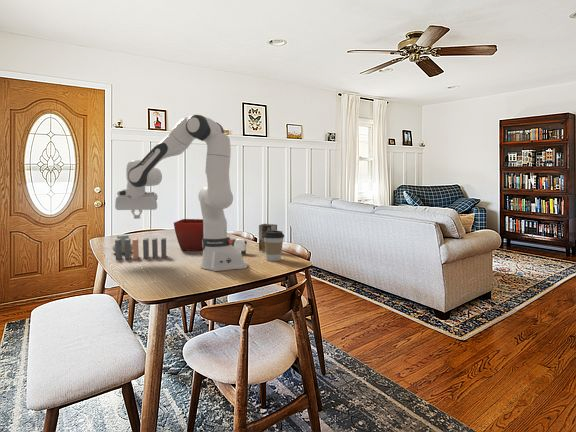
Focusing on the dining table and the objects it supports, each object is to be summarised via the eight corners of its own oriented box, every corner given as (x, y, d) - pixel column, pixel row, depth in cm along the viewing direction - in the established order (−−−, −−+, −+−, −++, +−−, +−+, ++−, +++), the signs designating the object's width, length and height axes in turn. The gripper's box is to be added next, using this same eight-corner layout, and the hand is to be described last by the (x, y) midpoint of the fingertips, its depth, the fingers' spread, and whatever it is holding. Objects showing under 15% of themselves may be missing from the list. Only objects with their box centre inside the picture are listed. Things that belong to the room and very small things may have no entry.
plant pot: (206, 252, 208) (206, 223, 206) (173, 251, 208) (173, 222, 206) (213, 245, 227) (213, 219, 225) (183, 245, 227) (183, 218, 225)
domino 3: (138, 256, 193) (138, 238, 192) (137, 258, 188) (136, 239, 187) (134, 256, 192) (134, 238, 191) (133, 258, 188) (132, 240, 186)
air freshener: (114, 255, 196) (114, 237, 195) (111, 252, 202) (110, 235, 201) (135, 252, 203) (135, 235, 202) (131, 250, 209) (131, 233, 208)
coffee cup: (288, 259, 190) (289, 231, 189) (273, 263, 182) (273, 234, 180) (273, 256, 198) (273, 229, 196) (258, 259, 190) (258, 231, 188)
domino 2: (131, 256, 192) (130, 238, 191) (129, 259, 187) (128, 240, 186) (127, 257, 192) (126, 238, 190) (125, 259, 187) (124, 240, 186)
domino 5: (157, 256, 195) (157, 237, 194) (156, 258, 190) (156, 239, 189) (153, 256, 194) (153, 238, 193) (152, 258, 190) (152, 239, 189)
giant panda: (248, 253, 206) (248, 236, 205) (245, 255, 200) (245, 238, 200) (223, 252, 208) (223, 235, 207) (220, 254, 203) (220, 237, 202)
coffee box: (277, 251, 211) (277, 224, 210) (271, 253, 206) (271, 225, 204) (264, 249, 216) (265, 223, 214) (258, 251, 211) (258, 224, 209)
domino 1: (122, 257, 191) (121, 238, 190) (119, 259, 186) (119, 240, 185) (117, 257, 190) (117, 238, 189) (115, 259, 186) (115, 240, 185)
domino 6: (166, 255, 196) (166, 237, 195) (165, 257, 191) (165, 239, 190) (162, 256, 196) (162, 237, 194) (161, 257, 191) (161, 239, 190)
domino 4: (148, 256, 194) (148, 238, 193) (147, 258, 189) (147, 239, 188) (145, 256, 194) (144, 238, 192) (143, 258, 189) (142, 239, 188)
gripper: (158, 191, 192) (158, 217, 194) (116, 191, 188) (117, 218, 189) (156, 192, 186) (157, 218, 187) (113, 192, 181) (114, 219, 183)
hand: (137, 218), depth 188 cm, fingers closed
